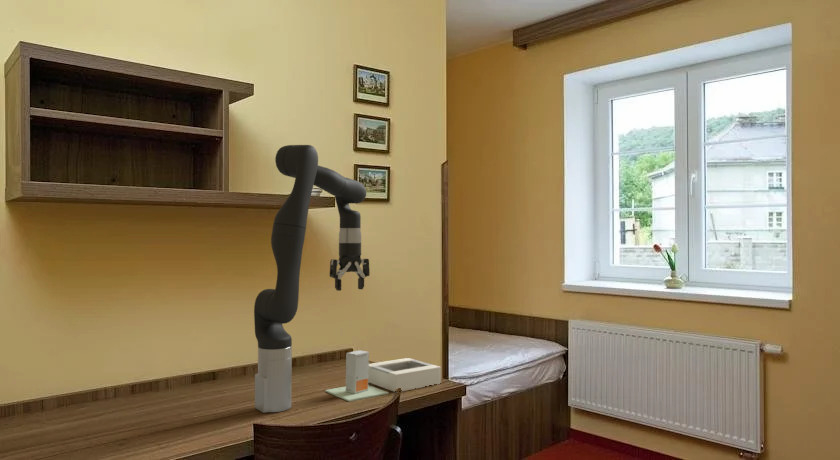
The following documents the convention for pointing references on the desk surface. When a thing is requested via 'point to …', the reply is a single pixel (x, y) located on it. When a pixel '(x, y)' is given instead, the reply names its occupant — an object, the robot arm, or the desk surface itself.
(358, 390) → the skincare box
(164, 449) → the desk surface
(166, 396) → the desk surface
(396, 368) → the access box
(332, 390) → the place mat
